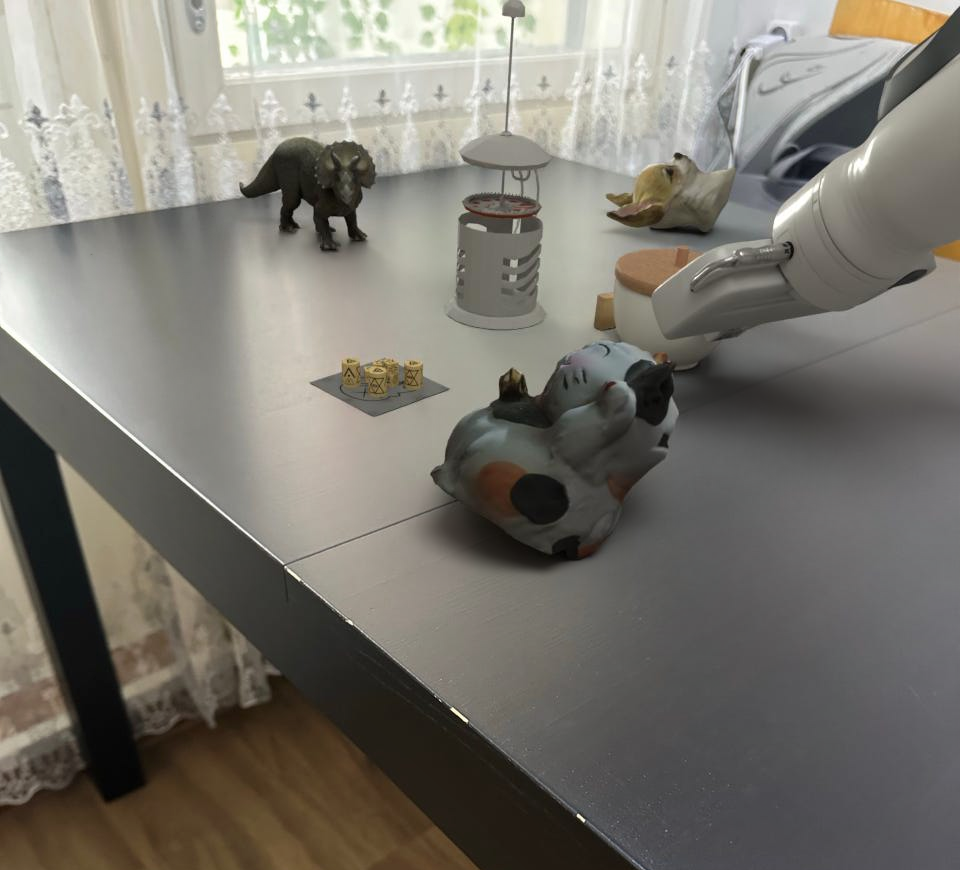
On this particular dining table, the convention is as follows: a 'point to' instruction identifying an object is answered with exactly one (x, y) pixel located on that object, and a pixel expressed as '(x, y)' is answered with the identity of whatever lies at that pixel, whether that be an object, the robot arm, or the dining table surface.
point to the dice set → (379, 384)
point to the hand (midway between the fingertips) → (716, 331)
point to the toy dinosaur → (317, 183)
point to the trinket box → (634, 304)
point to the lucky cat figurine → (564, 447)
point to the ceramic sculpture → (674, 196)
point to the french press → (500, 231)
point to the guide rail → (604, 311)
